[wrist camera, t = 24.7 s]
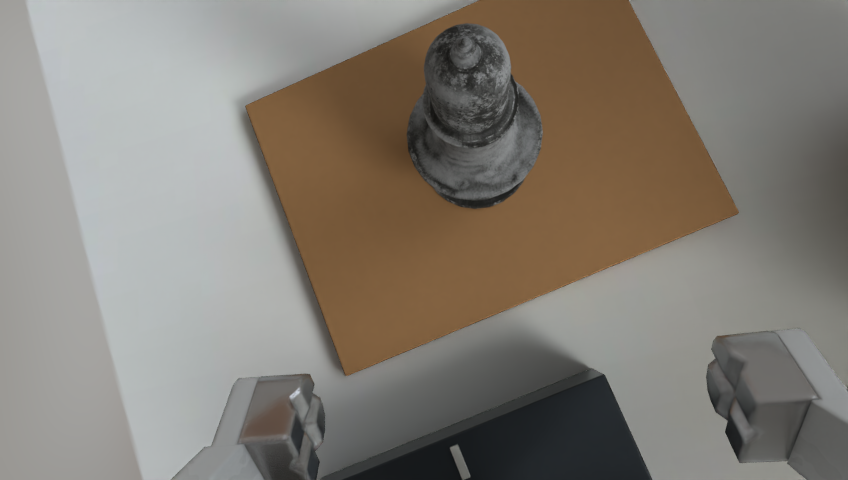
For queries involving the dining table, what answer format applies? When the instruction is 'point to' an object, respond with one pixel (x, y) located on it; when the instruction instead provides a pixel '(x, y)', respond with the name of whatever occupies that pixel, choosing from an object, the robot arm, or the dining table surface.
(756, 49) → the dining table surface
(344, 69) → the cork mat
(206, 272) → the dining table surface
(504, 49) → the stone finial
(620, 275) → the dining table surface
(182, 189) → the dining table surface
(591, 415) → the dial panel
